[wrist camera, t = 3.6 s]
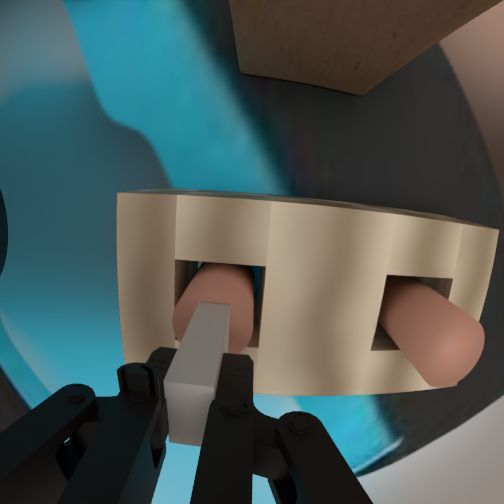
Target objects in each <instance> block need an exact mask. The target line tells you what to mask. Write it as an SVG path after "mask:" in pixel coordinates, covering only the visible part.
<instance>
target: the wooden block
mask: <svg viewBox="0 0 504 504" xmlns="http://www.w3.org/2000/svg"><path fill="white" fill-rule="evenodd" d="M501 1H503V0H229V3H230V9H231V16H232V22H233V29H234V35H235V42H236V48H237V55H238V62H239V68H240V72H242V73H244V74H250V75H258V76H265V77H272V78H278V79H284V80H290V81H296V82H301V83H306V84H311V85H316V86H321V87H325V88H330V89H334V90H339V91H343V92H347V93H351V94H355V95H364V94H365V93H367V92H368V91H369V90H371V89H372V88H373V87H375V86H376V85H377V84H379V83H380V82H382V81H383V80H384V79H386V78H387V77H388V76H390V75H391V74H393V73H394V72H395V71H397V70H398V69H400V68H401V67H402V66H404V65H405V64H407V63H408V62H410V61H411V60H412V59H414V58H415V57H417V56H418V55H420V54H421V53H422V52H424V51H425V50H427V49H428V48H430V47H431V46H433V45H434V44H436V43H437V42H439V41H440V40H442V39H443V38H444V37H446V36H448V35H449V34H451V33H452V32H454V31H455V30H457V29H458V28H460V27H461V26H463V25H464V24H466V23H468V22H469V21H471V20H472V19H474V18H475V17H477V16H479V15H480V14H482V13H483V12H485V11H487V10H488V9H490V8H491V7H493V6H495V5H496V4H498V3H499V2H501Z"/></svg>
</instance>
